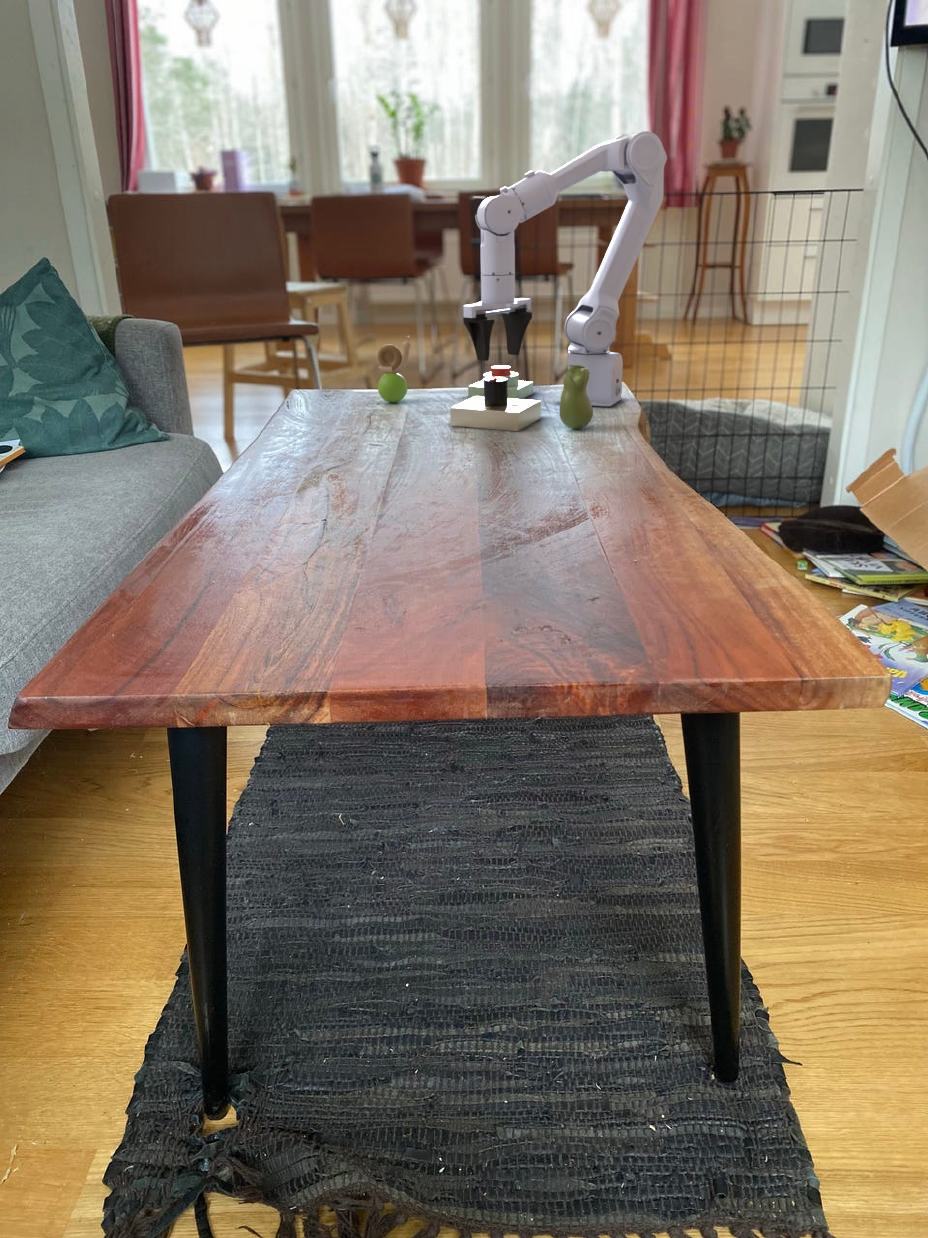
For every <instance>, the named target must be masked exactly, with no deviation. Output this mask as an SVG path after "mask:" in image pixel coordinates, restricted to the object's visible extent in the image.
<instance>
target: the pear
mask: <svg viewBox="0 0 928 1238" xmlns="http://www.w3.org/2000/svg"><path fill="white" fill-rule="evenodd" d="M588 380H589V370H588V368H585V367H583V366H581V365H570V366H569V369H568V368H567V371H566V372H565V374H564V376H563V380H562V382H563V383H562V384H563V390H562V391H561V394H560V400H559V417H560V418H559V419H560V421H561V423H562V425H564V426H565V427H566V428H569V429H573V430H579V429H580V430H581V429H582V428H585V427H587V426H588V425H589V424H590V422H591V421H592V419H593V416H594V406H592V405H591V403H590V400H589V398H588V395H587V392H586V386H587V383H588Z"/></svg>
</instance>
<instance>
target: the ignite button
mask: <svg viewBox="0 0 928 1238" xmlns="http://www.w3.org/2000/svg"><path fill="white" fill-rule="evenodd" d="M490 372H491V375H492V376H509V375H511V372H512V371H511V366H510V365H504V364H503V365H502V364H501V365H499V364H498V365H492V366H491V367H490Z"/></svg>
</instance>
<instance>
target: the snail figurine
mask: <svg viewBox="0 0 928 1238" xmlns="http://www.w3.org/2000/svg"><path fill="white" fill-rule="evenodd" d="M406 339H407V340H410V339H411V335H410V334H409V335H406ZM410 349H411V343H410V341H404V342H403V343H402V352H401V350H400V349H399V347H397V345H394V344H391V343H389V344H387V343H386V344H384V345H381V347H380V348H379V350H378V352H377V360H378V362H379V364H380V365H379V366H377V368H378V369H379V371H381V372H382V373H383V375H382V376H381V377H380V378H379V380H378V383H377V392H378V394H379V396H380V397H381V398H382V400H384V401H385V402H388V403H390V404H391V403H392V404H393V403H394V404H395V403H399V402H401V401H402V400H403V399H404V398H405V397H406V395H407V393H408V383H407V380H406V378H405V377H404V376H403V375H402V374H400V373H401V372H402V371H403V370H404V369H405V368H406V366H407V363H408V359H409V355H410Z"/></svg>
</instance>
